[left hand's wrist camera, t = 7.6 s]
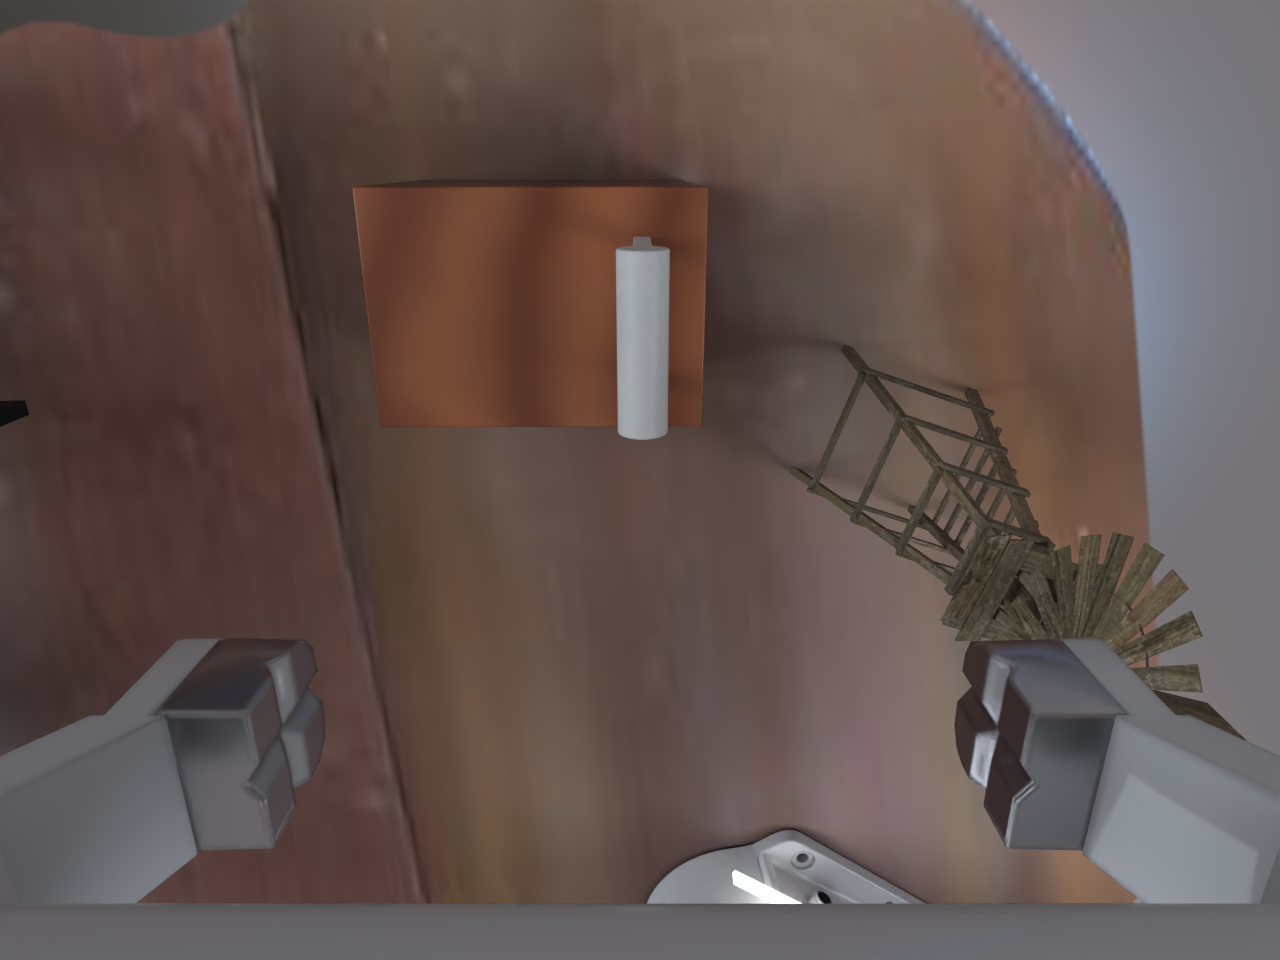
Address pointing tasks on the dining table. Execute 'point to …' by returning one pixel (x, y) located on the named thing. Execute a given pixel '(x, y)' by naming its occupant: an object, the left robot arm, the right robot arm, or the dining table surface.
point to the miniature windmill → (1023, 558)
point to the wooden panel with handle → (536, 305)
